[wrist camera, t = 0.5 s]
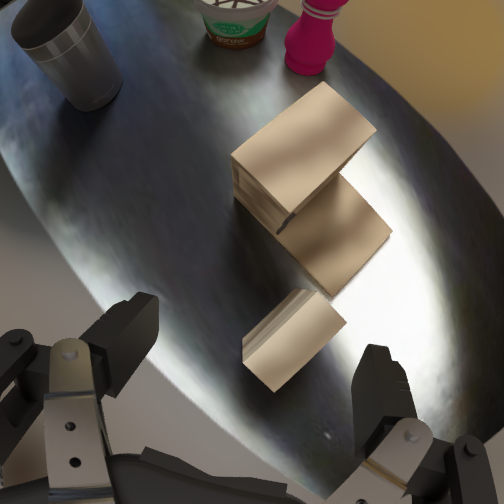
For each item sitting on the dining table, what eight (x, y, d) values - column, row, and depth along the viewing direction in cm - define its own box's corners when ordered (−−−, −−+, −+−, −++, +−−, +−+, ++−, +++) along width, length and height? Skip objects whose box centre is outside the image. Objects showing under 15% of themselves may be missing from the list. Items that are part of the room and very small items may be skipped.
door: (242, 338, 39) (242, 362, 27) (295, 287, 39) (317, 291, 27) (270, 365, 38) (281, 399, 27) (321, 316, 39) (354, 330, 27)
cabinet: (234, 196, 40) (230, 154, 26) (299, 138, 41) (323, 80, 27) (330, 296, 39) (374, 304, 25) (389, 232, 40) (448, 211, 26)
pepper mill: (333, 76, 42) (375, -16, 22) (288, 80, 42) (313, -21, 22) (318, 44, 43) (349, -48, 23) (276, 47, 42) (291, -52, 23)
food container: (196, 57, 42) (188, 14, 32) (198, 31, 42) (191, -11, 32) (277, 55, 42) (284, 11, 32) (274, 29, 43) (279, -13, 33)
